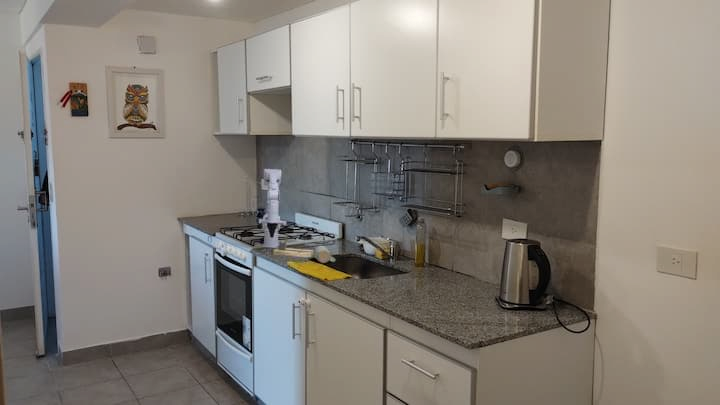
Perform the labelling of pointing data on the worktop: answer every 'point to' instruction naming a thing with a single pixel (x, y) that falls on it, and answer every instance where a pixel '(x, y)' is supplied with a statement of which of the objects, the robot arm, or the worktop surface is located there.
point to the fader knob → (282, 245)
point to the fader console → (293, 252)
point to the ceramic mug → (323, 254)
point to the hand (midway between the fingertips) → (271, 237)
